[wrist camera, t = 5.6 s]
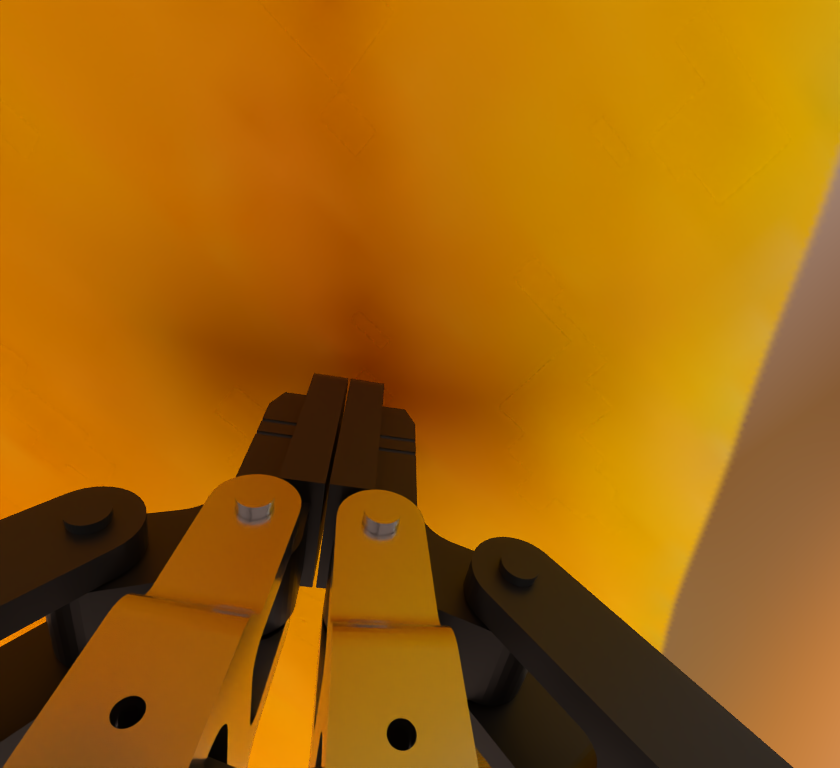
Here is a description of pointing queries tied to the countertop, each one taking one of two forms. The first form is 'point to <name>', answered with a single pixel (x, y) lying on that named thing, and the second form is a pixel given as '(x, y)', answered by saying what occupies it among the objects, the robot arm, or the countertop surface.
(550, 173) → the countertop surface
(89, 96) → the countertop surface
